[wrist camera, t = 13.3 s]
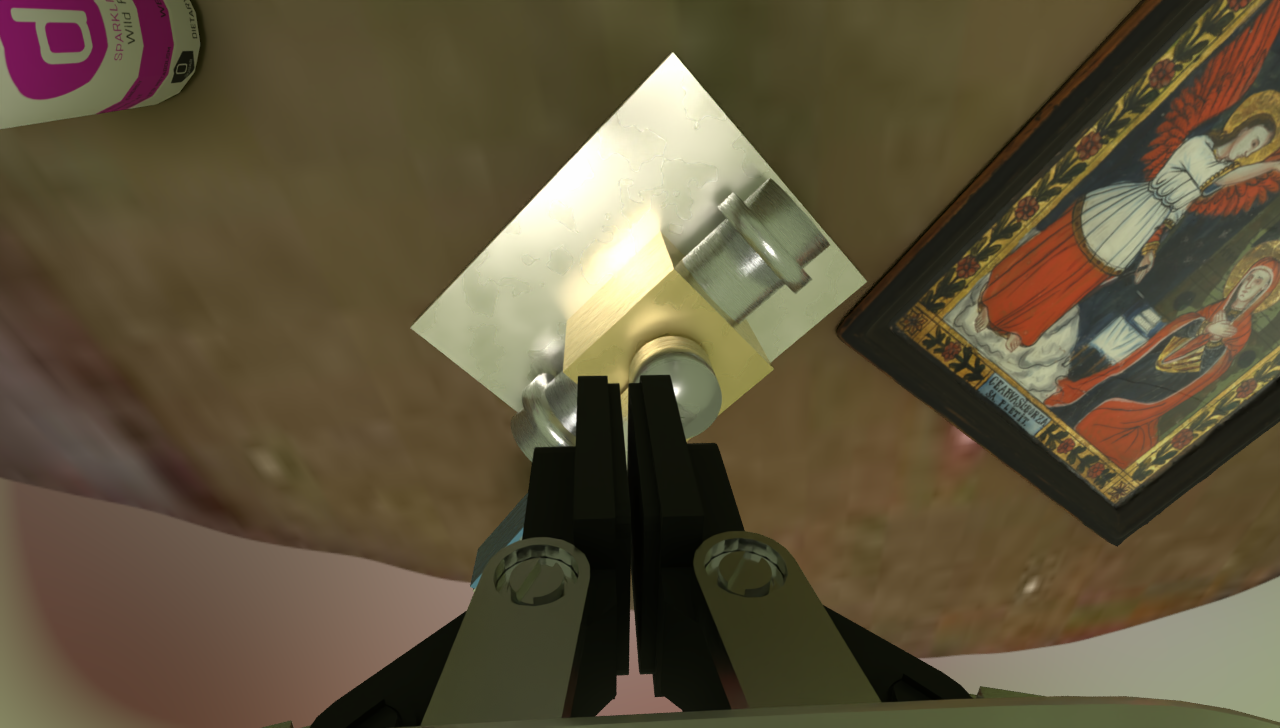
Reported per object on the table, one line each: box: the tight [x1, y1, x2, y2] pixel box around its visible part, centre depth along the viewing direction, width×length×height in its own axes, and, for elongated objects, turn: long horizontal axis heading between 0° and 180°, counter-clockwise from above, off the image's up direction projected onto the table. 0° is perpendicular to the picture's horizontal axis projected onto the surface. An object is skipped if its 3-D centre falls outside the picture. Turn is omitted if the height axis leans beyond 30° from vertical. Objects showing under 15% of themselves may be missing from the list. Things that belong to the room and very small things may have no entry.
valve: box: [411, 52, 867, 462], centre depth 38 cm, size 22×18×8 cm
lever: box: [470, 336, 722, 592], centre depth 36 cm, size 18×4×3 cm, turn 141°
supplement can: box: [0, 0, 200, 129], centre depth 27 cm, size 8×8×15 cm
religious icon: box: [837, 0, 1280, 546], centre depth 43 cm, size 38×35×3 cm
